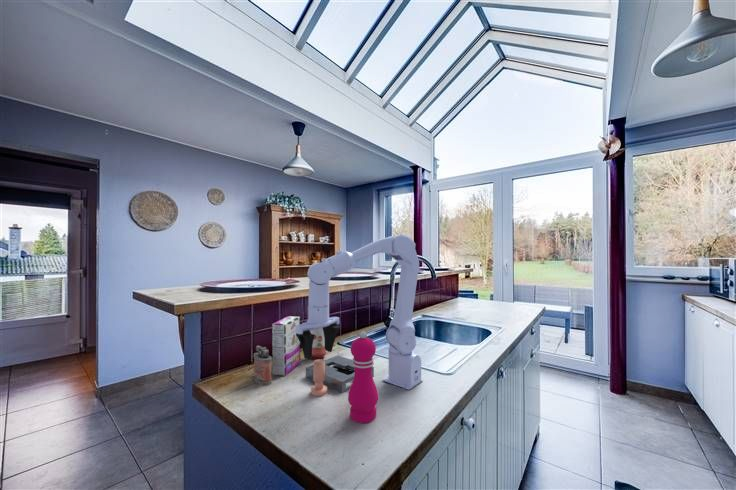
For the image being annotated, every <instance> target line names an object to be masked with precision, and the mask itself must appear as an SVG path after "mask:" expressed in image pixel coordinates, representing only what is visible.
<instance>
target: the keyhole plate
mask: <svg viewBox="0 0 736 490" xmlns="http://www.w3.org/2000/svg"><path fill="white" fill-rule="evenodd" d="M324 360H325V380H324V381H323V385H325V386H327V388H331V389H333V390H335V391H337V392H339V393H344V392H347V384H348V383H350V382H353V379H354V374H355V366H354V365H353V359H350V358H347V357H344V356H340V355H335V356H332V357H331V358H327V359H324ZM332 366H333V367H332ZM335 367H337V368H335ZM338 368H340V369H343V370H346V371H349V372H352V373H350V374H345V373H343V372H340V371H338ZM374 374H375V366H374V365H373V366H372V377H373V378H374V377H375V375H374ZM305 378H307V379H309V380H311V381H313V364H311V365H308V366H305Z"/></svg>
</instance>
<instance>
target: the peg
mask: <svg viewBox="0 0 736 490" xmlns="http://www.w3.org/2000/svg"><path fill="white" fill-rule="evenodd" d="M325 360H326V359H323V358H321V359H313V361H312V363H313V364H312V365H313V380H312V381H313V382H314V385H312V386H311V389H310V394H311V395H312V396H313V397H323V396H325V395H327V393H328V387H327V386H325V385H323V381H324V380H325Z"/></svg>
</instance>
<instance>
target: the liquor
mask: <svg viewBox="0 0 736 490" xmlns="http://www.w3.org/2000/svg"><path fill="white" fill-rule="evenodd" d="M308 309H309V304H308V305H307V313H308V312H309V310H308ZM310 332H311V334H314V335H315V337H314V340H313V345H312V357H311V359H313V360H318V359H323V358H324V357H325V356H326V355H327V351H325V339H324V332H323V328H319V329H315V330H311V331H310Z"/></svg>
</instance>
